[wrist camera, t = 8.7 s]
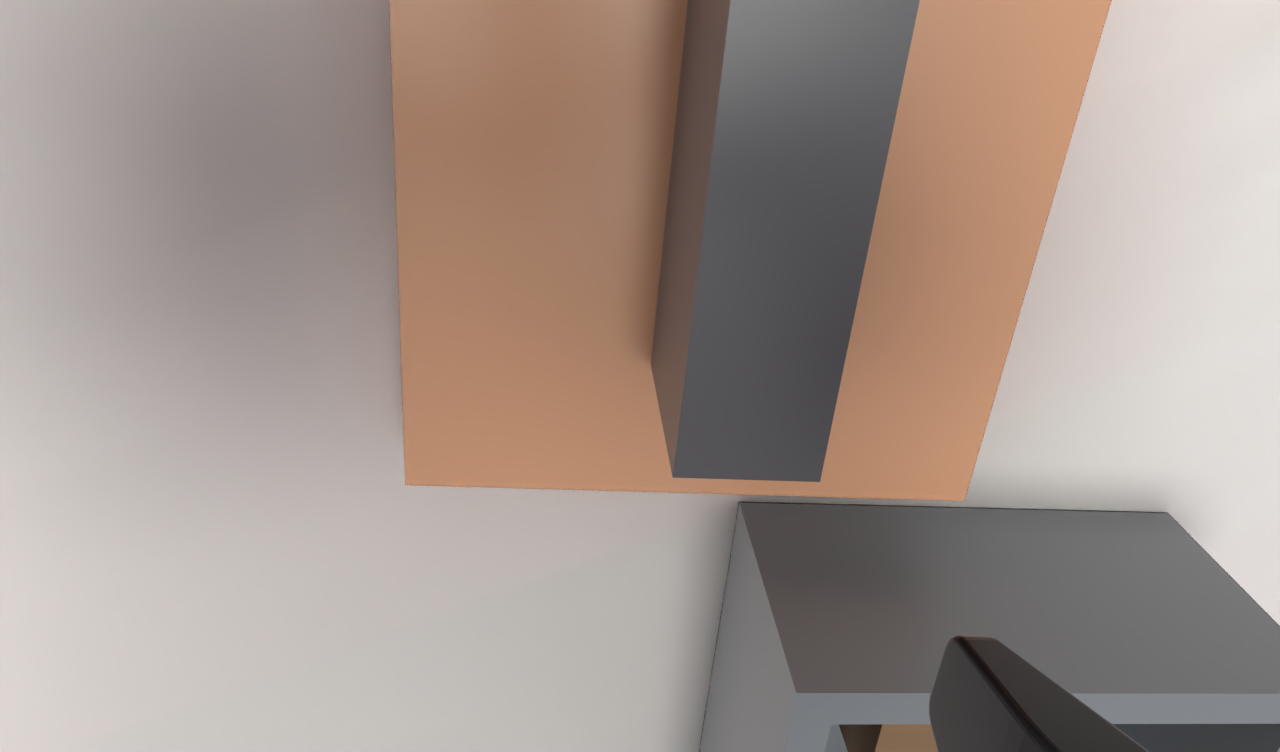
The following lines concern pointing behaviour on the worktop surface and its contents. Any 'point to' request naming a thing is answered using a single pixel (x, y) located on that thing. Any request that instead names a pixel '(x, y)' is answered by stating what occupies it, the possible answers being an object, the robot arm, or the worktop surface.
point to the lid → (720, 236)
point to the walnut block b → (888, 737)
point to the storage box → (983, 623)
